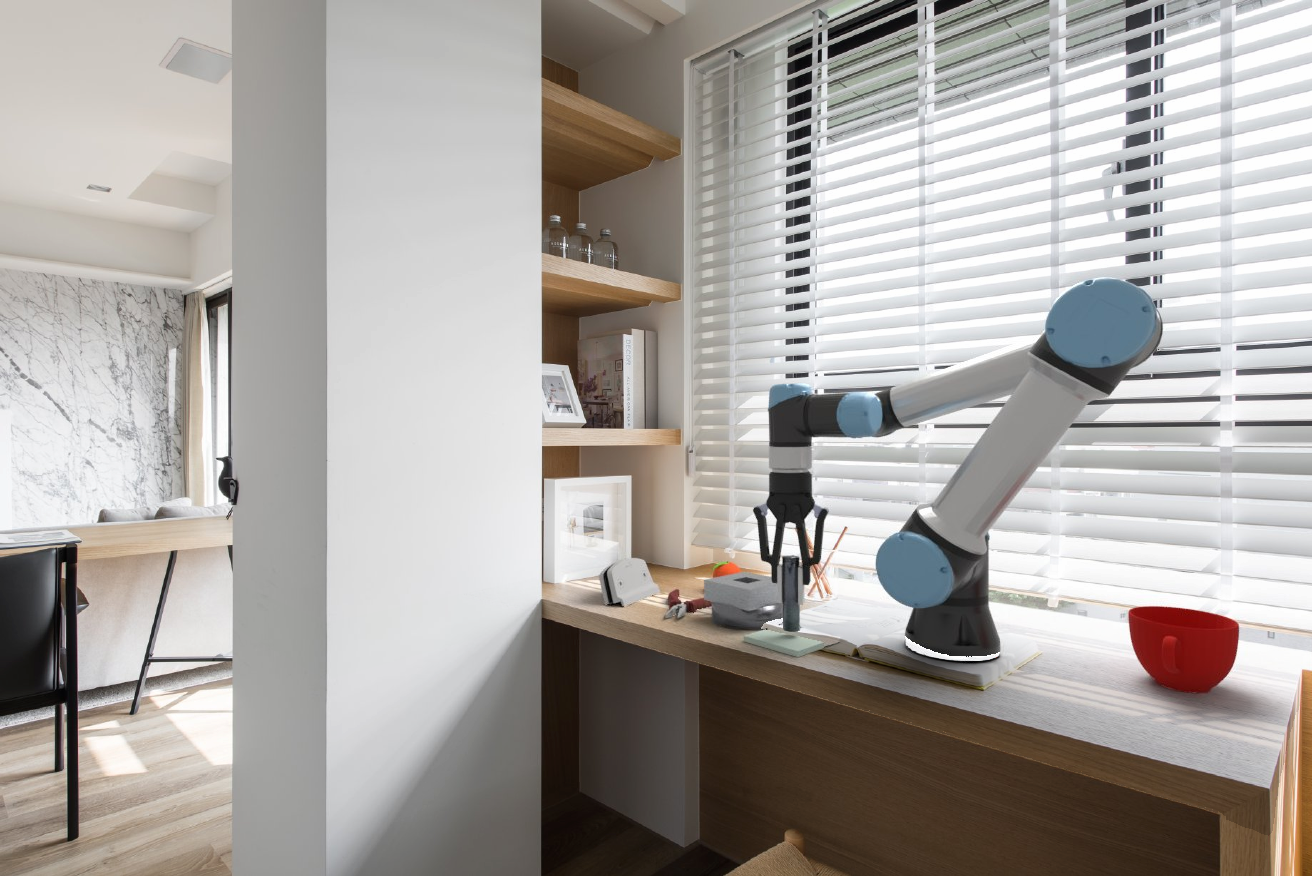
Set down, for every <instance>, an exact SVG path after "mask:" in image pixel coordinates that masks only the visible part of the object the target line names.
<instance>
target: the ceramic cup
mask: <svg viewBox="0 0 1312 876" xmlns="http://www.w3.org/2000/svg"><path fill="white" fill-rule="evenodd" d="M1127 614H1128V615H1127V617H1128V627H1129V628H1128V630H1129V635H1130V641H1131V645H1132V649H1133V651H1134V654H1135V656H1136V658H1137V660H1138V662H1139V663H1140V666H1142V668H1143V669H1144V670H1145V672H1146V673H1147V674H1148V675H1149V677H1151V678H1152V679H1153V681H1154V682H1155V683H1156V684H1157V685H1158V686H1161V687H1164V688H1166V689H1169V690H1174V691H1177V692H1178V691H1179V692H1182V693H1192V694H1205V693H1206V694H1207V693H1209V692H1210V691H1211V690H1212V689H1214V688H1215V687H1216V686H1218V685H1219V684H1220V683H1222V681H1224V679H1225V678H1227V676H1228V675H1229V674H1230V672H1231V671H1232V669H1233V666H1234V664H1235V662H1236V658H1237V653H1238V649H1239V648H1238V646H1239V640H1240V639H1239V638H1240V625H1239V623H1238V622H1237V621H1236V620H1234V619H1232V618H1230V617H1227V616H1224V615H1221V614H1217V613H1214V612H1207V611H1204V610H1198V609H1192V608H1184V607H1176V606H1175V607H1174V606H1163V605H1161V606H1160V605H1159V606H1157V605H1151V606H1150V605H1149V606H1147V605H1145V606H1144V605H1143V606H1136V607H1133V608H1130V609H1129V610H1128V612H1127Z"/></svg>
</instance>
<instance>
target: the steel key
mask: <svg viewBox="0 0 1312 876" xmlns="http://www.w3.org/2000/svg"><path fill="white" fill-rule="evenodd" d="M781 559H782V560H781V562H782V563H781V564H782V588H783V622H782V624H783V630H784V631H787V632H798V631H800V627H801V622H800V621H801V619H800V618H801V615H800V613H801V609H800V605H798V567H799V566H800V556H797V555H794V554H792V555H783V556H781Z"/></svg>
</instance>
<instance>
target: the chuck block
mask: <svg viewBox="0 0 1312 876" xmlns="http://www.w3.org/2000/svg"><path fill="white" fill-rule="evenodd" d="M703 587H704V589H703V593H704V594H703V598H704V600H707V601H711V602H712V606H711V622H712V623H713V622H714V624H715V625H716V626H719V627H721V628H726V629H732V630H741V631H761V630H760V629H761V627H762V626H763V624H764V623H766V622H768V621H772V620H775V619H781V618H783V602H782V603H777V583H772V580H771V576H769V575H763V574H758V573H753V572H748V571H741V572H740V573H735V574H730V575H725V576H721V577H716V578H713V577H711V578H706V579H703Z"/></svg>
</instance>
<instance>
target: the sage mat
mask: <svg viewBox="0 0 1312 876" xmlns="http://www.w3.org/2000/svg"><path fill="white" fill-rule="evenodd" d="M743 642H744V643H749V644H752V645H755V646H759V647H762V648H766V649H768V650H773V651H774V652H775V651H776V652H779V653H782V654H786V655H789V656H792V657H795V658H800V657H802V656H805V655H807V654H811V653H814V652H818V651H819V650H820V651H821V650H822V649H825V648H824V642H821V641H817V640H812V639H808V638H804V637H800V636H795V635H790V634H785V633H779V632H775V631H771V630H766V629H763V630H757V631H756V632H751V633H749V634H745V635H743Z"/></svg>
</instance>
